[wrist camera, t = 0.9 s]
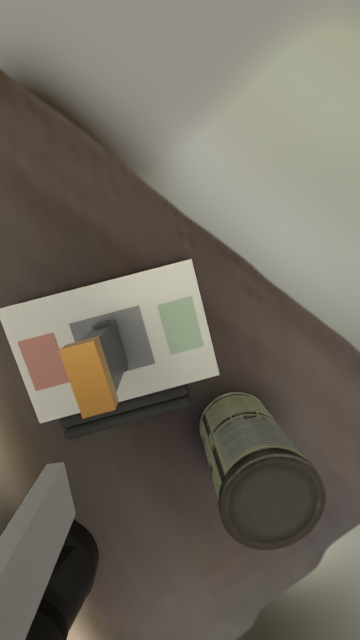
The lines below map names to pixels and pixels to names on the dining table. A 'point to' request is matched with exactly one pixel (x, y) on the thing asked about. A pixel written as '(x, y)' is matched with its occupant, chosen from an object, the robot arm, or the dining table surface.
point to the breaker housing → (133, 328)
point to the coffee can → (259, 474)
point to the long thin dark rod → (128, 412)
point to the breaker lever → (95, 368)
